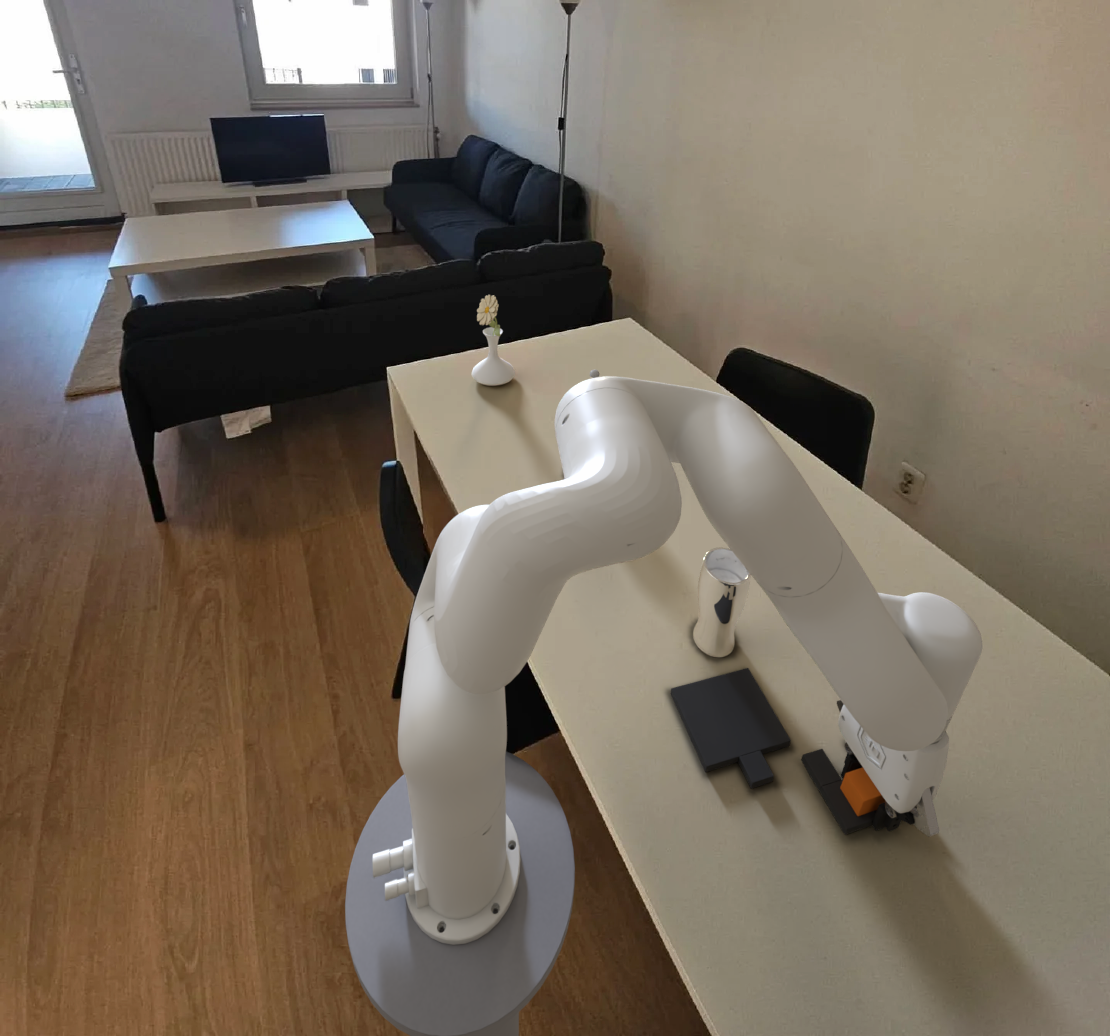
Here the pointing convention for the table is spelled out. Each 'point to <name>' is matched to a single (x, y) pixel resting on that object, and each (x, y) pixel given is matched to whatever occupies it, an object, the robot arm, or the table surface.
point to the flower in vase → (491, 348)
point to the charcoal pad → (731, 724)
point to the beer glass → (720, 601)
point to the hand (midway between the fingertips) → (868, 798)
